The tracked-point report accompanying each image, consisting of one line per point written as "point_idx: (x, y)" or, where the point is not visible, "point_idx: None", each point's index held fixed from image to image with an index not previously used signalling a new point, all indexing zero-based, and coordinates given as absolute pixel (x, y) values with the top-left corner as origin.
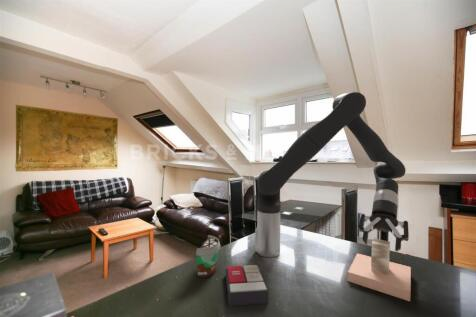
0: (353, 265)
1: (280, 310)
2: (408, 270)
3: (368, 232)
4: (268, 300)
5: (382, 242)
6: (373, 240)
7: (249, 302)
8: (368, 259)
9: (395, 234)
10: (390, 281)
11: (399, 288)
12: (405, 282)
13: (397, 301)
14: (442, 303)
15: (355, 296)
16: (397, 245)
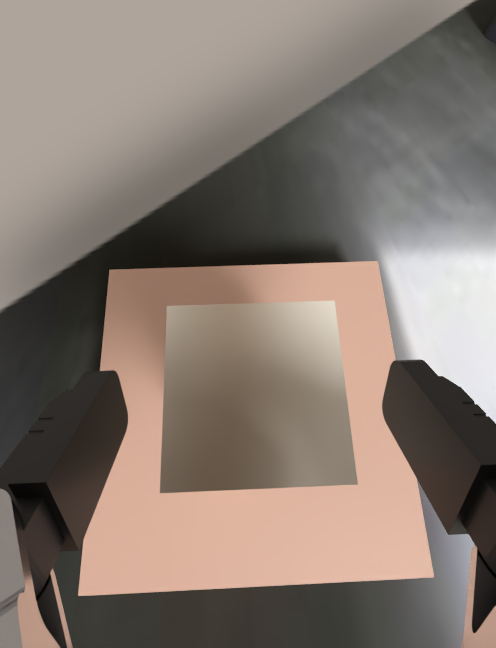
0: (381, 350)
1: (439, 31)
2: (97, 516)
3: (481, 568)
4: (489, 30)
5: (238, 389)
6: (338, 388)
7: None
8: (337, 512)
9: (19, 543)
10: (189, 299)
11: (153, 269)
12: (125, 336)
13: (169, 261)
14: (10, 359)
15: (301, 200)
16: (77, 390)
